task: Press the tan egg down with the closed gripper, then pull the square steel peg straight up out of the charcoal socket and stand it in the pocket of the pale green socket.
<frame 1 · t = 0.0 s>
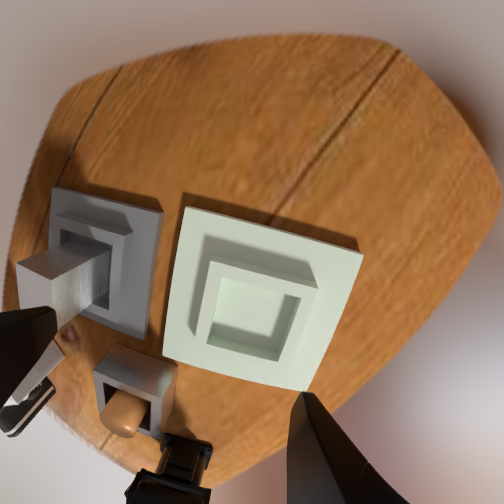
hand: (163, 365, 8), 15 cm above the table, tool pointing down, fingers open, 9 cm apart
charcoal socket: (97, 261, 24), on the table
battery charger: (42, 384, 30), on the table
steel peg: (92, 264, 23), point 1 cm above the table, touching charcoal socket
pale green socket: (253, 308, 24), on the table
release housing: (144, 378, 27), on the table
tan egg: (126, 408, 22), point 5 cm above the table, slide at 0.0 cm
small box: (41, 344, 28), on the table
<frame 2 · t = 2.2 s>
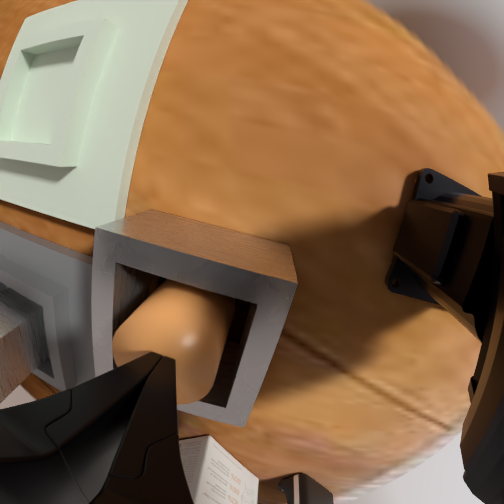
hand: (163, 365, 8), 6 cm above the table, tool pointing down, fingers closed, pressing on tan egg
charcoal socket: (39, 313, 16), on the table
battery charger: (301, 485, 19), on the table
steel peg: (31, 319, 15), point 1 cm above the table, touching charcoal socket
pale green socket: (57, 96, 12), on the table
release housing: (203, 292, 14), on the table
tan egg: (181, 328, 11), point 4 cm above the table, slide at 1.2 cm, touching gripper
small box: (210, 461, 19), on the table
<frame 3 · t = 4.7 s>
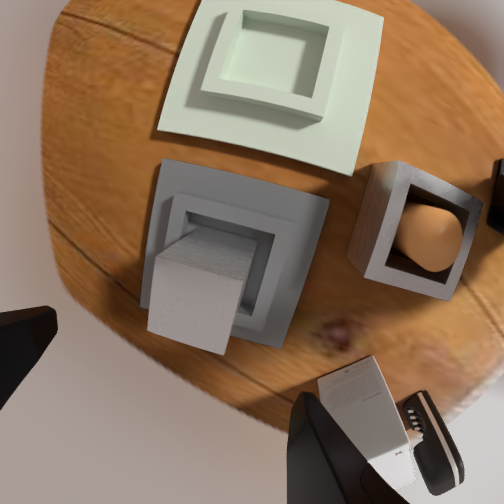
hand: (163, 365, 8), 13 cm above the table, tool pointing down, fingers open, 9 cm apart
charcoal socket: (226, 255, 21), on the table
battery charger: (415, 409, 24), on the table
steel peg: (223, 259, 20), point 1 cm above the table, touching charcoal socket
pale green socket: (276, 62, 17), on the table
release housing: (400, 223, 19), on the table
tan egg: (420, 232, 16), point 4 cm above the table, slide at 1.5 cm
small box: (356, 390, 24), on the table
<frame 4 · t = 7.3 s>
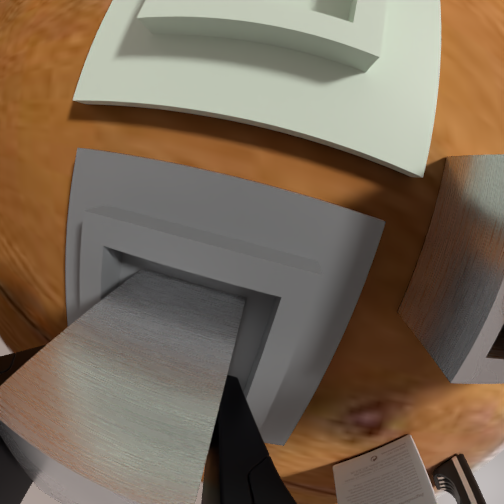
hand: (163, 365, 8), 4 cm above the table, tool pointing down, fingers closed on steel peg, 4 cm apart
charcoal socket: (191, 316, 12), on the table
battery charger: (444, 470, 15), on the table
steel peg: (184, 328, 11), point 1 cm above the table, touching charcoal socket, gripper
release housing: (478, 257, 10), on the table
small box: (380, 468, 14), on the table
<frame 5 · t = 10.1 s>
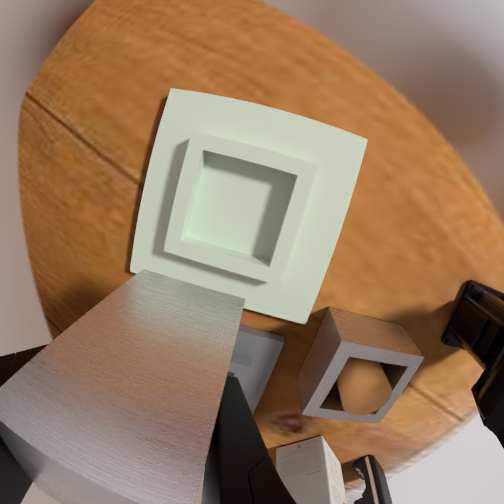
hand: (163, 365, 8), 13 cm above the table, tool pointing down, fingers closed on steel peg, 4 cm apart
charcoal socket: (198, 370, 24), on the table
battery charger: (364, 465, 27), on the table
steel peg: (184, 328, 11), point 10 cm above the table, touching gripper
pale green socket: (240, 204, 20), on the table
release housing: (350, 351, 22), on the table
tan egg: (359, 376, 19), point 4 cm above the table, slide at 1.5 cm
small box: (310, 455, 27), on the table
when the fingers open (5 cm above the table, at t = 13.1 s): steel peg drops 1 cm, resting on pale green socket.
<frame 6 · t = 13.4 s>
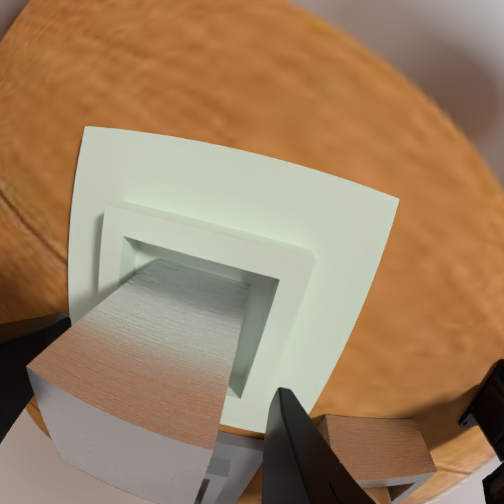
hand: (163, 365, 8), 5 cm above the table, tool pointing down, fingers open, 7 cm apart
charcoal socket: (173, 460, 17), on the table
steel peg: (194, 312, 12), point 1 cm above the table, touching pale green socket
pale green socket: (199, 301, 13), on the table
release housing: (350, 448, 15), on the table
tan egg: (357, 487, 12), point 4 cm above the table, slide at 1.5 cm
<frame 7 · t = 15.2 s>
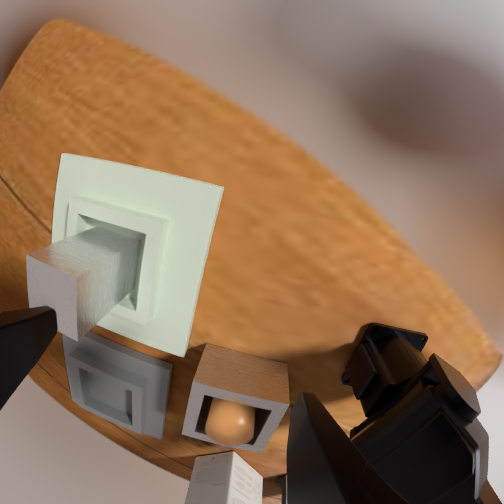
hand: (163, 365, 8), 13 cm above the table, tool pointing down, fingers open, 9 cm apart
charcoal socket: (115, 384, 25), on the table
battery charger: (291, 481, 29), on the table
steel peg: (115, 257, 20), point 1 cm above the table, touching pale green socket
pale green socket: (120, 253, 21), on the table
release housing: (237, 382, 24), on the table
tan egg: (232, 410, 20), point 4 cm above the table, slide at 1.5 cm
small box: (231, 466, 28), on the table
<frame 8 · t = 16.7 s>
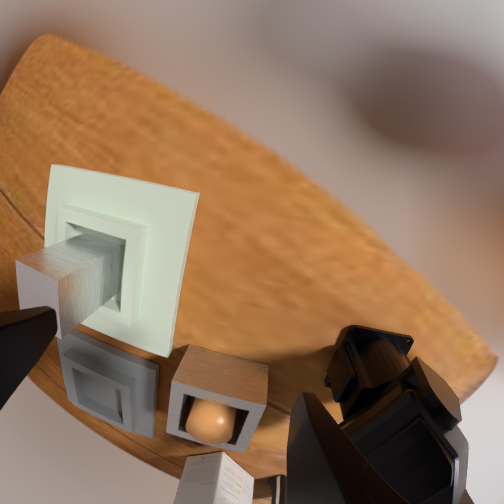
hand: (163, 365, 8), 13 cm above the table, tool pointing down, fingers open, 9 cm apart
charcoal socket: (107, 384, 26), on the table
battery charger: (283, 483, 29), on the table
steel peg: (101, 262, 21), point 1 cm above the table, touching pale green socket
pale green socket: (107, 258, 22), on the table
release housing: (221, 383, 24), on the table
tan egg: (214, 409, 21), point 4 cm above the table, slide at 1.5 cm
small box: (222, 467, 28), on the table
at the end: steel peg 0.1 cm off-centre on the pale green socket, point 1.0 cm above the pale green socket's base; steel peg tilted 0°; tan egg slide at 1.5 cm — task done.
